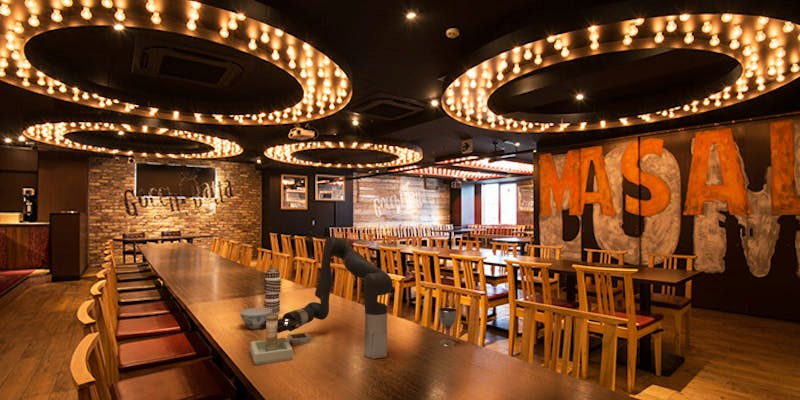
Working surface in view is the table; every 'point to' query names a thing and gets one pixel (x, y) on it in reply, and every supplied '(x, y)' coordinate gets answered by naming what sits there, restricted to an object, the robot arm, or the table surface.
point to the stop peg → (271, 332)
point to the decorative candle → (272, 290)
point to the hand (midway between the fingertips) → (269, 329)
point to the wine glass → (447, 322)
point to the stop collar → (298, 338)
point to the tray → (271, 352)
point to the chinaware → (255, 316)
